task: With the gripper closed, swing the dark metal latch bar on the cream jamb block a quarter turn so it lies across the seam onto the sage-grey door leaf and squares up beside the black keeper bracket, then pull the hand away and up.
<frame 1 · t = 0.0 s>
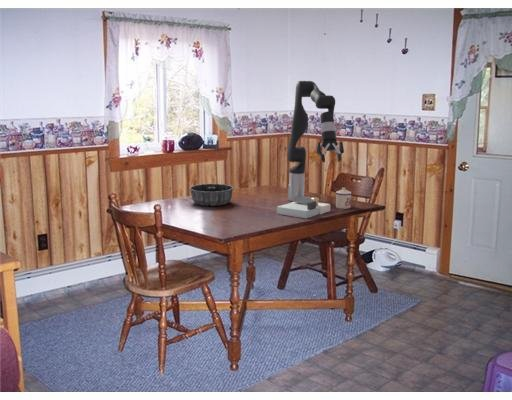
hand: (331, 161, 324), 31 cm above the table, tool tilted 20°, fingers open, 8 cm apart
jamb block: (310, 210, 355), on the table
keeper bracket: (311, 208, 339), resting on door leaf
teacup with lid: (344, 207, 365), on the table
bundt pan: (211, 204, 372), on the table
door leaf: (297, 214, 345), on the table
latch bar: (306, 200, 351), point 6 cm above the table, hinge at 0.0°
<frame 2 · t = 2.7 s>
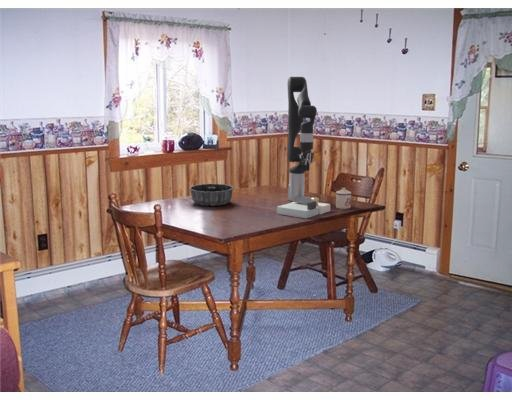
hand: (305, 170, 355), 22 cm above the table, tool pointing down, fingers open, 3 cm apart
nothing on the table moved.
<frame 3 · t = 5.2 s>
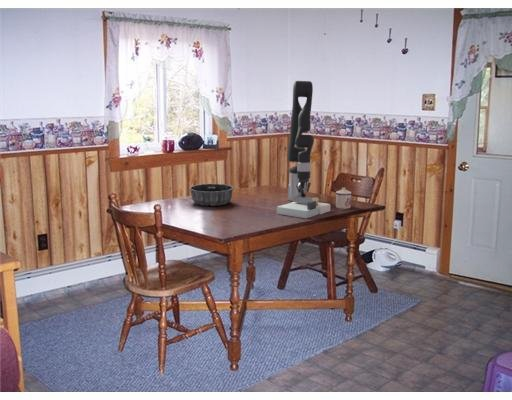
hand: (303, 199, 356), 6 cm above the table, tool pointing down, fingers closed
latch bar: (306, 200, 351), point 6 cm above the table, hinge at 0.2°, touching gripper
everything else where it was.
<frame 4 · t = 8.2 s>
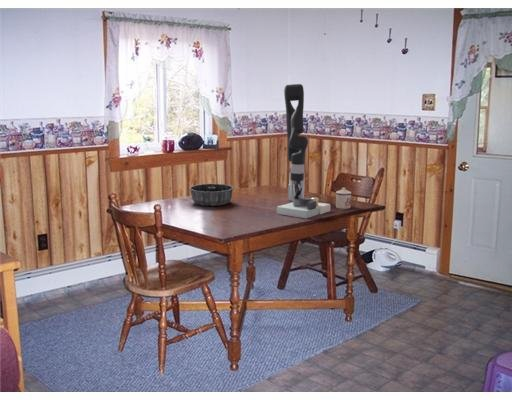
hand: (296, 201, 350), 6 cm above the table, tool pointing down, fingers closed
latch bar: (305, 201, 347), point 6 cm above the table, hinge at 46.5°, touching gripper
everything else where it was.
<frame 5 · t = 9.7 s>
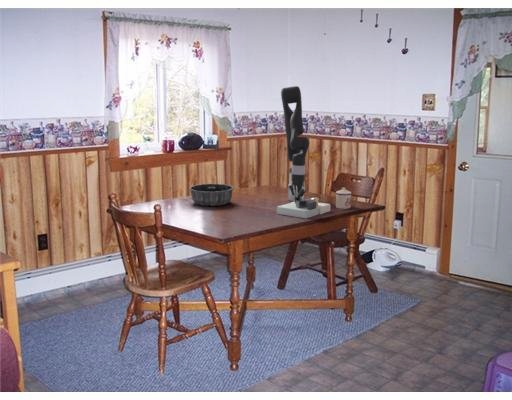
hand: (297, 203, 345), 6 cm above the table, tool pointing down, fingers closed
latch bar: (307, 202, 345), point 6 cm above the table, hinge at 70.4°, touching gripper
everything else where it was.
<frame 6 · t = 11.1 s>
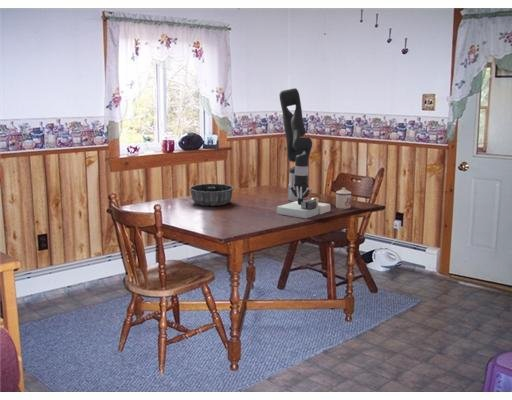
hand: (300, 204, 342), 6 cm above the table, tool pointing down, fingers closed
latch bar: (310, 202, 344), point 6 cm above the table, hinge at 90.5°, touching gripper
everything else where it was.
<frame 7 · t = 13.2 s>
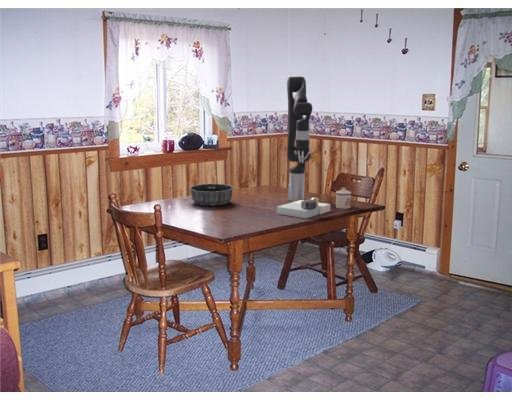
hand: (302, 168, 350), 24 cm above the table, tool pointing down, fingers closed
latch bar: (310, 202, 344), point 6 cm above the table, hinge at 90.6°
everything else where it was.
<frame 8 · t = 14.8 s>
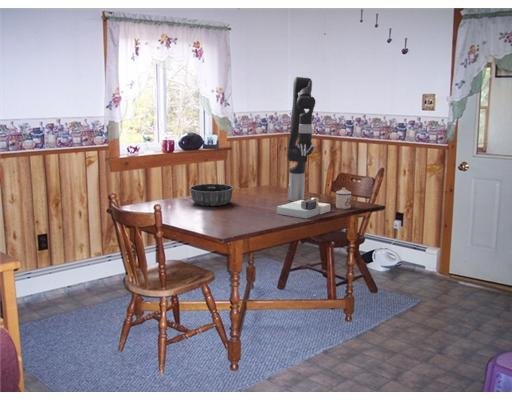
hand: (304, 162, 355), 27 cm above the table, tool pointing down, fingers closed
nothing on the table moved.
at the end: latch bar at +91° (first picture: +0°); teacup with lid moved 0.2 cm from its start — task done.
